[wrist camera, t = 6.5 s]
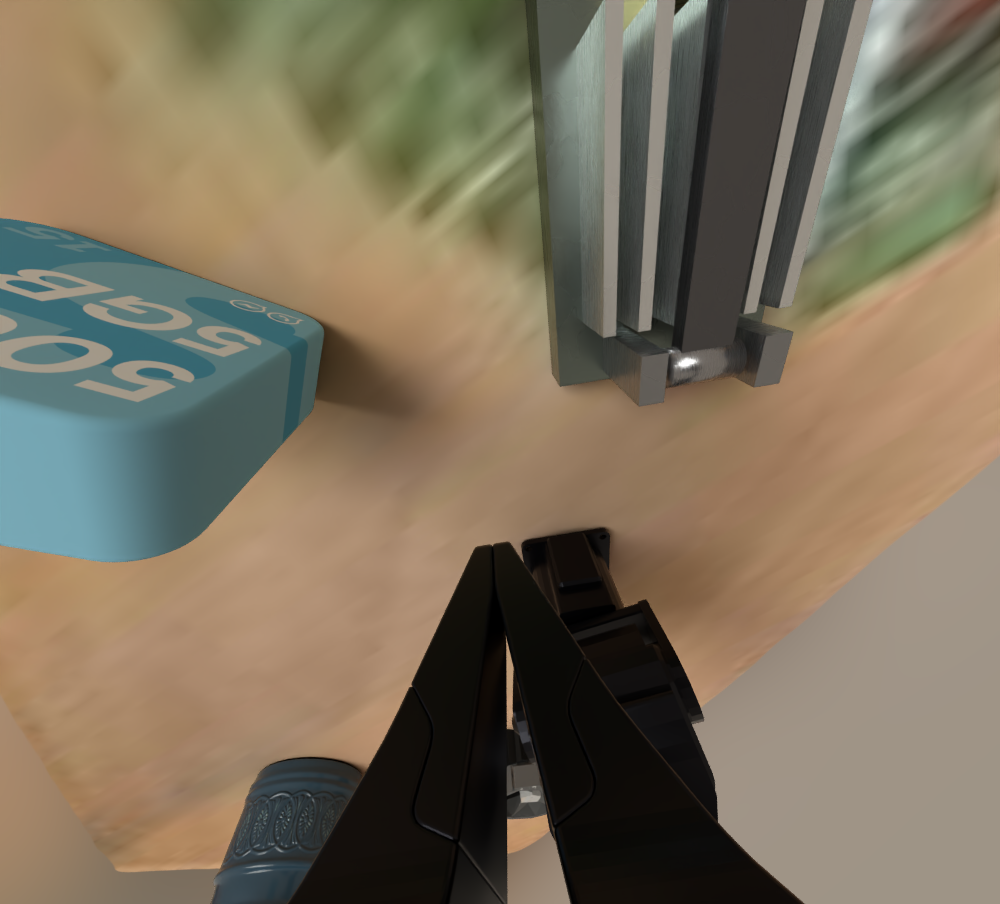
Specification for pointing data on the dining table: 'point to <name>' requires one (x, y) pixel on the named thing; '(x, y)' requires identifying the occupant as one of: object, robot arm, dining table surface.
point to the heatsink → (663, 177)
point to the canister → (283, 829)
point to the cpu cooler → (522, 782)
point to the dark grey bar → (729, 180)
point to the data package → (134, 395)
